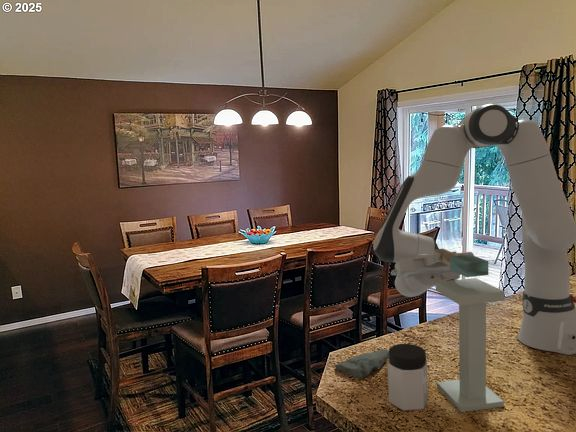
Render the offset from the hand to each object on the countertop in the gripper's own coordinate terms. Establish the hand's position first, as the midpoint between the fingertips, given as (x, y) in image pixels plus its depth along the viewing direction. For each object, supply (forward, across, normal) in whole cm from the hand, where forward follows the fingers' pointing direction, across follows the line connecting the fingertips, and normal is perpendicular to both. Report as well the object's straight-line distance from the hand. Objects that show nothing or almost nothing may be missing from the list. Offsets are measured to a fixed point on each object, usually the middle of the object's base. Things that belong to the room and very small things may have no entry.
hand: (446, 255), depth 108 cm
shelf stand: (-7, 0, +32) cm, 32 cm away
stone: (-25, -17, +22) cm, 37 cm away
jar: (-8, -14, +31) cm, 35 cm away
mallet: (+3, 0, +4) cm, 5 cm away
